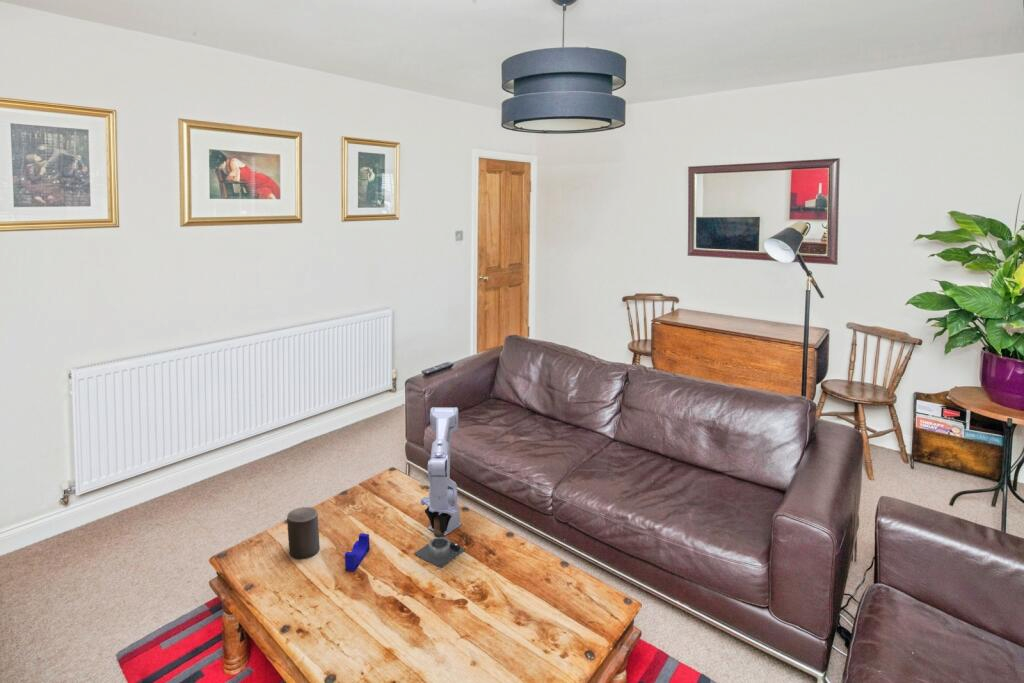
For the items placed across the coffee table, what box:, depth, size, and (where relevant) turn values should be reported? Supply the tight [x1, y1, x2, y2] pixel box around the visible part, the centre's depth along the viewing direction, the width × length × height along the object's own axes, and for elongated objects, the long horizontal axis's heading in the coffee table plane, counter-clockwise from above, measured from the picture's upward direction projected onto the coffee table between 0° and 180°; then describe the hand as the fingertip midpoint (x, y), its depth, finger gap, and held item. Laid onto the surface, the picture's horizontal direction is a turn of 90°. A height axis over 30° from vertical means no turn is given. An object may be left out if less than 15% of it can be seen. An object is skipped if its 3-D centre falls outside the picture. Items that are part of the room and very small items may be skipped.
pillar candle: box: [286, 506, 321, 560], centre depth 196 cm, size 10×10×15 cm
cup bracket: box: [413, 536, 466, 569], centre depth 197 cm, size 12×12×4 cm
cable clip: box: [344, 532, 371, 572], centre depth 193 cm, size 12×4×6 cm, turn 170°
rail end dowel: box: [433, 516, 445, 538], centre depth 195 cm, size 4×4×6 cm
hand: (439, 529), depth 195 cm, fingers closed on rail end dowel, 3 cm apart
